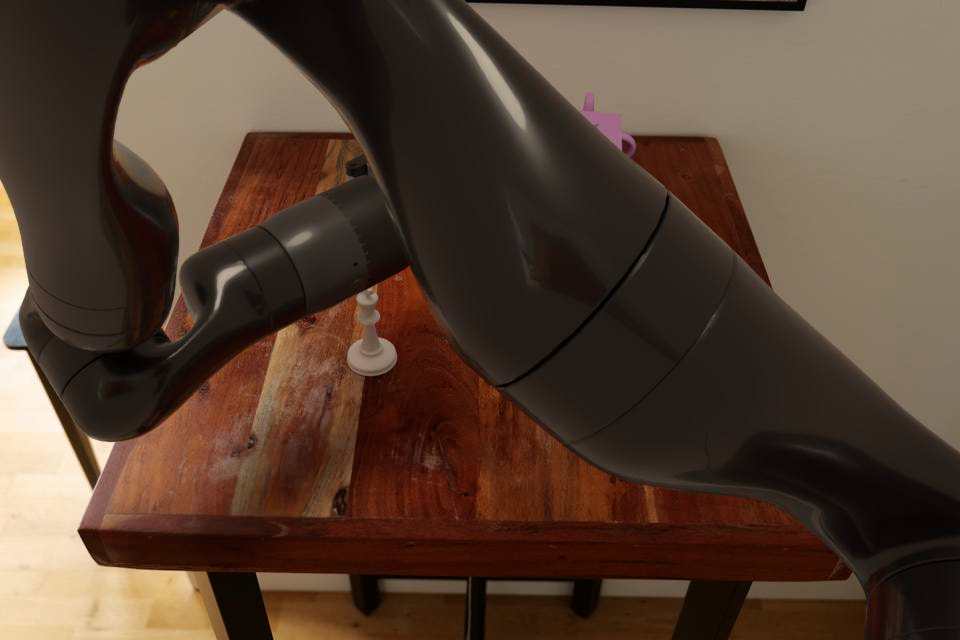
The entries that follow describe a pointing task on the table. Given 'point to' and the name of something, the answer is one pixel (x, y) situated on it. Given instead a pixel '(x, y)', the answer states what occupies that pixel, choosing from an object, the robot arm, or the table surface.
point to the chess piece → (370, 341)
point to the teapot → (607, 125)
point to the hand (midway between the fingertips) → (500, 166)
